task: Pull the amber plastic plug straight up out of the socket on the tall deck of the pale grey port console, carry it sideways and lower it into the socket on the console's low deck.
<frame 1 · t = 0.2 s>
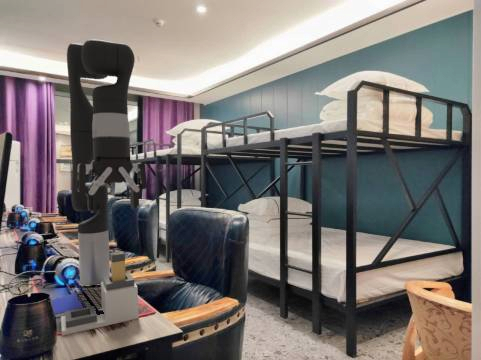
hand: (114, 210, 75), 28 cm above the table, tool pointing down, fingers open, 8 cm apart
plug: (118, 284, 87), point 8 cm above the table, touching console
console: (99, 319, 85), on the table
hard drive: (66, 309, 94), on the table
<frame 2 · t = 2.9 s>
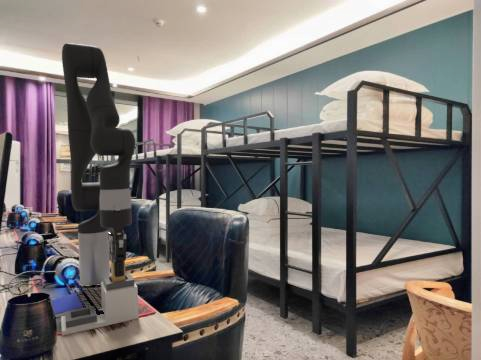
hand: (118, 274, 87), 11 cm above the table, tool pointing down, fingers closed on plug, 3 cm apart
plug: (118, 284, 87), point 8 cm above the table, touching console, gripper
everything else where it was.
when the fingers open (5 cm above the table, at t = 8.3 s): plug stays where it is, resting on console.
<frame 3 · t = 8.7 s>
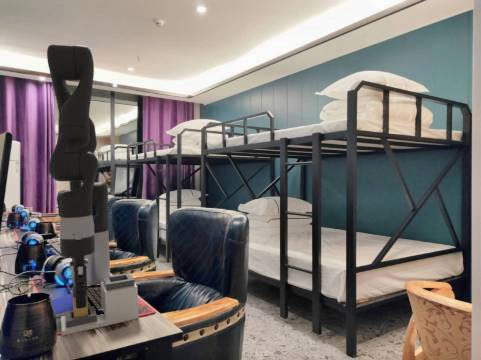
hand: (80, 302, 83), 5 cm above the table, tool pointing down, fingers open, 7 cm apart
plug: (80, 319, 83), point 1 cm above the table, touching console
everything else where it was.
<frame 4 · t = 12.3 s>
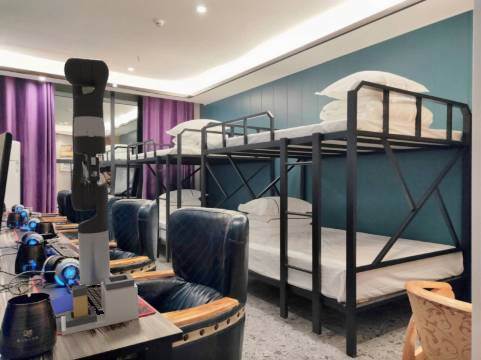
hand: (92, 197, 90), 30 cm above the table, tool pointing down, fingers open, 8 cm apart
nothing on the table moved.
at the end: plug 0.1 cm from the target spot on the console, point 1.0 cm above the console's base; plug tilted 0°; the gripper is holding nothing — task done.
